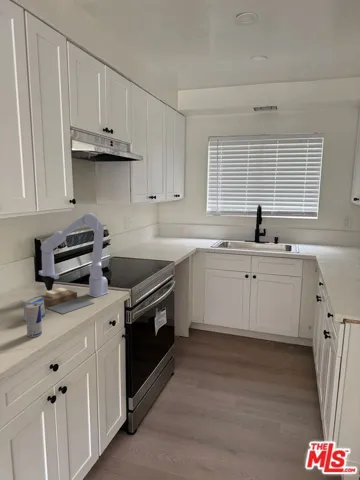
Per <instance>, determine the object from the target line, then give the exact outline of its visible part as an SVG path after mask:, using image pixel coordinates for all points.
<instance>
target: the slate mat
mask: <svg viewBox="0 0 360 480" xmlns="http://www.w3.org/2000/svg"><path fill="white" fill-rule="evenodd" d="M93 304H95V302H92V301H90V300H88V299H84V298H81V297H77V298H76V299H73V300H70V301H67V302H64V303H60V304H57V305H54V306H51V307H47V309H48V310H50V311H52V312H56V313H58V314H60V315H65V314H68V313H71V312H74V311H77V310H79V309H82V308H83V309H84V308H85V307H88V306H90V305H93Z"/></svg>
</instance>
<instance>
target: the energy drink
mask: <svg viewBox="0 0 360 480" xmlns="http://www.w3.org/2000/svg"><path fill="white" fill-rule="evenodd" d="M25 322H26V335H27V336H28V337H29V338H37V337H39V336H41V335H42V334H43V325H42V317H41V306H40V304H38V303H32V304H28V305H27V306H26V321H25Z"/></svg>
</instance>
